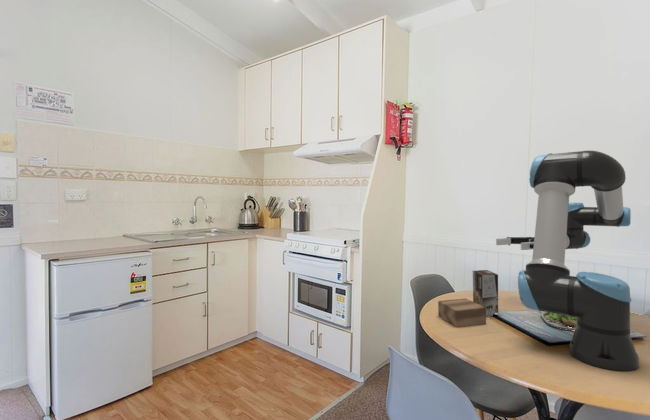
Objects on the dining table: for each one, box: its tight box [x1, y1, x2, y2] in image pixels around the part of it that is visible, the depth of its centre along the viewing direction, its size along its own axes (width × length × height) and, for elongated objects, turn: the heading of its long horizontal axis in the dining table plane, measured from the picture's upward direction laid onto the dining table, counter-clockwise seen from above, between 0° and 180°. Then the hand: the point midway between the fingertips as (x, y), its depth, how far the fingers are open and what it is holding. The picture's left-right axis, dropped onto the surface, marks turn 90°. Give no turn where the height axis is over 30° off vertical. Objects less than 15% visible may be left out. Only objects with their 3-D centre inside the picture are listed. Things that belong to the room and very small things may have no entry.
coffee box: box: [472, 269, 499, 317], centre depth 137 cm, size 9×6×16 cm
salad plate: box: [540, 311, 577, 331], centre depth 122 cm, size 19×18×5 cm
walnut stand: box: [437, 298, 487, 328], centre depth 129 cm, size 12×12×6 cm
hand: (508, 244), depth 138 cm, fingers open, 13 cm apart
